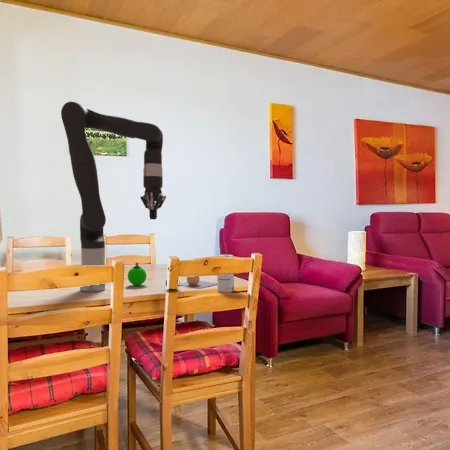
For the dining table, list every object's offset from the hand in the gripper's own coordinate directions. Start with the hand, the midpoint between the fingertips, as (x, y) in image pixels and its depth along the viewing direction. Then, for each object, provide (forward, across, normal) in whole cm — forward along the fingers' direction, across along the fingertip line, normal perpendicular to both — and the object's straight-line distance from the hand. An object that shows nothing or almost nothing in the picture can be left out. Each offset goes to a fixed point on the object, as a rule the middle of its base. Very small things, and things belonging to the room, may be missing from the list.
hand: (153, 219), depth 167 cm
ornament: (+29, +16, -5) cm, 34 cm away
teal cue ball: (+26, -3, -7) cm, 27 cm away
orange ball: (+26, -4, -20) cm, 33 cm away
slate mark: (+29, -3, -23) cm, 37 cm away
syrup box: (+29, -22, -19) cm, 41 cm away
